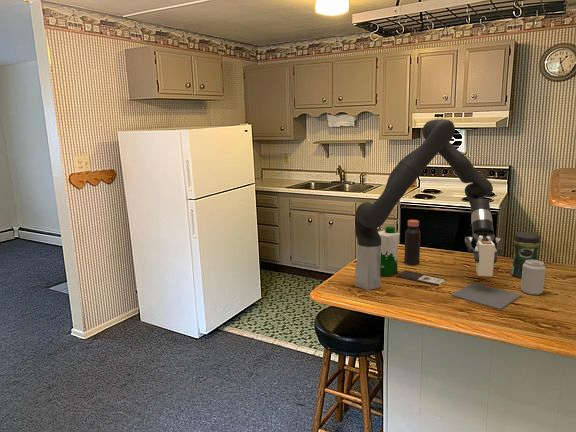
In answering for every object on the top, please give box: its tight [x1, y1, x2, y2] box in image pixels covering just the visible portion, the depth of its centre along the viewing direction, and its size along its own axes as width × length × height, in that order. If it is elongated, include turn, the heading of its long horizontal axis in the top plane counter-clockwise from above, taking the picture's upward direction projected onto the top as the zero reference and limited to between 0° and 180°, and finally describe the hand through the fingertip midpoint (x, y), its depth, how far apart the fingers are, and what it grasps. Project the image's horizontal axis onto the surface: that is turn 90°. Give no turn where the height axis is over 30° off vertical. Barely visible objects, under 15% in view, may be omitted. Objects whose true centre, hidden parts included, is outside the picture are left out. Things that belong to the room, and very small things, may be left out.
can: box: [520, 259, 546, 296], centre depth 164 cm, size 8×8×12 cm
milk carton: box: [378, 226, 401, 278], centre depth 187 cm, size 9×9×20 cm
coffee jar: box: [511, 231, 541, 279], centre depth 181 cm, size 10×8×19 cm
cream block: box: [475, 241, 496, 277], centre depth 164 cm, size 5×5×12 cm
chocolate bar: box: [395, 270, 447, 287], centre depth 182 cm, size 9×1×18 cm
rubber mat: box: [450, 282, 522, 311], centre depth 162 cm, size 18×18×1 cm
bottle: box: [403, 219, 422, 266], centre depth 200 cm, size 7×7×20 cm
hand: (486, 262), depth 163 cm, fingers closed on cream block, 5 cm apart
